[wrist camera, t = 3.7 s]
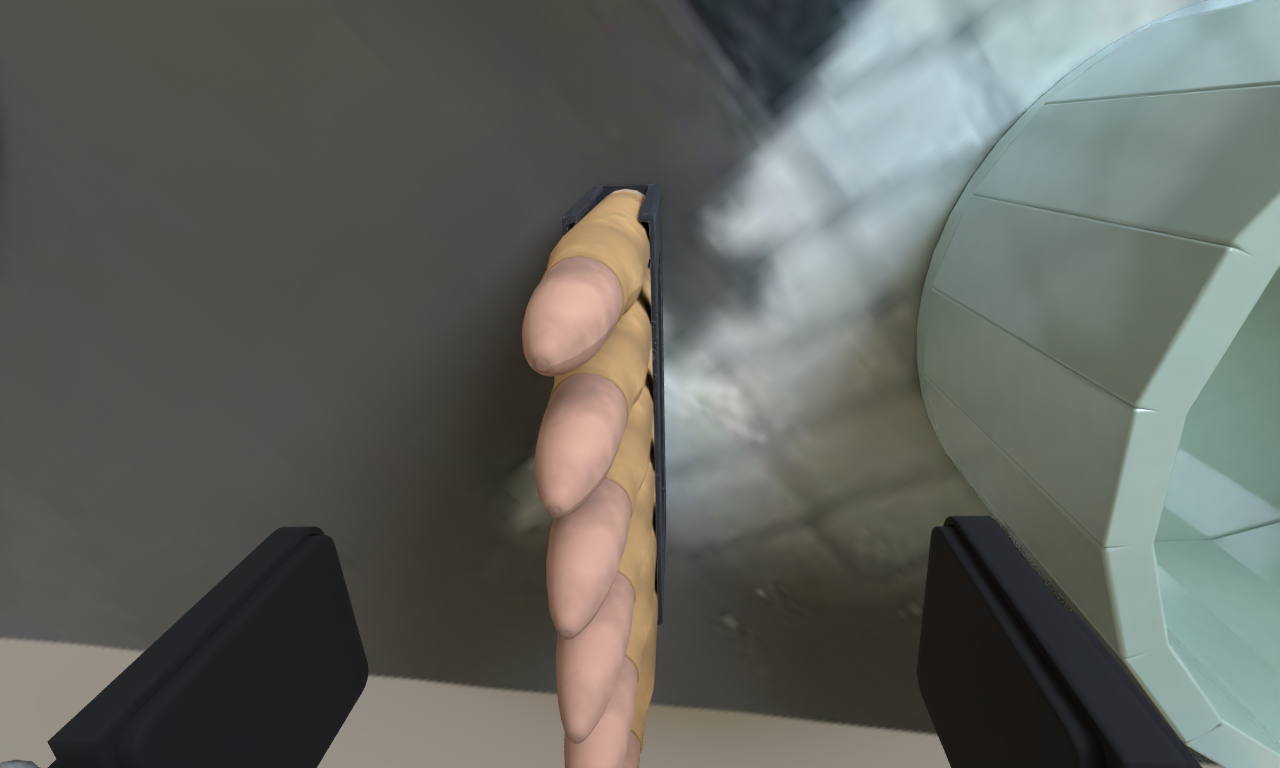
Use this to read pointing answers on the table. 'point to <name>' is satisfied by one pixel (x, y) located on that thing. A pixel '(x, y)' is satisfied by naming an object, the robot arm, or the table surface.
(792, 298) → the table surface
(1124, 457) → the pale green bowl
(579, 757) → the ammunition clip
